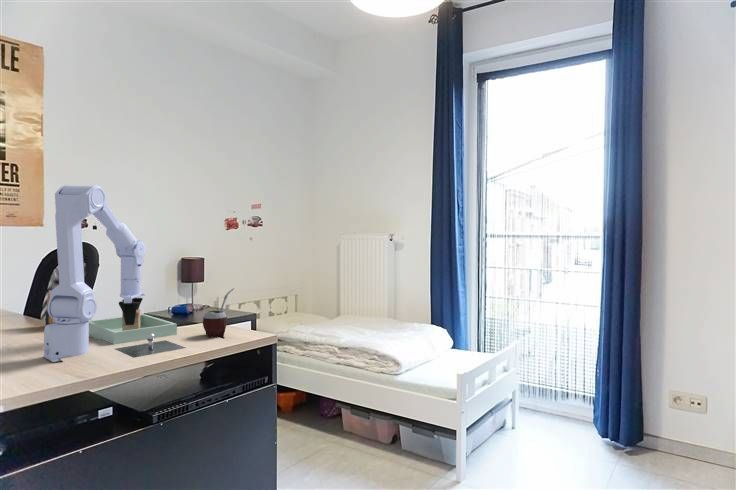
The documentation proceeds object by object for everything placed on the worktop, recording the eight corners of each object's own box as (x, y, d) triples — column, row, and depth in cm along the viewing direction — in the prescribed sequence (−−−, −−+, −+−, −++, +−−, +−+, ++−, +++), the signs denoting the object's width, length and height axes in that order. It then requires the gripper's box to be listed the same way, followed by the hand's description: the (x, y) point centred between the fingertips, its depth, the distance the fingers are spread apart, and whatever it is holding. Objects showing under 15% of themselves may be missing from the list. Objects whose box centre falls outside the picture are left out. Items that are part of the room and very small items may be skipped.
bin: (114, 347, 132) (114, 332, 132) (85, 334, 147) (85, 321, 147) (176, 336, 146) (176, 323, 146) (144, 326, 160) (144, 314, 160)
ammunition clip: (45, 326, 157) (45, 290, 156) (51, 325, 158) (51, 289, 158) (62, 330, 151) (62, 292, 151) (69, 329, 153) (69, 292, 153)
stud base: (133, 360, 120) (133, 341, 119) (114, 351, 127) (114, 333, 127) (186, 350, 130) (186, 332, 130) (165, 343, 138) (165, 326, 138)
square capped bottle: (138, 330, 145) (138, 305, 145) (122, 331, 143) (122, 306, 143) (140, 327, 149) (140, 303, 149) (124, 328, 148) (124, 303, 147)
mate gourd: (198, 339, 143) (198, 289, 143) (212, 334, 151) (213, 286, 150) (220, 341, 141) (220, 291, 141) (233, 335, 149) (234, 288, 148)
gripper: (142, 281, 140) (142, 327, 141) (148, 276, 154) (147, 318, 154) (115, 281, 138) (115, 328, 138) (123, 276, 152) (123, 319, 152)
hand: (130, 323), depth 146 cm, fingers closed on square capped bottle, 4 cm apart
